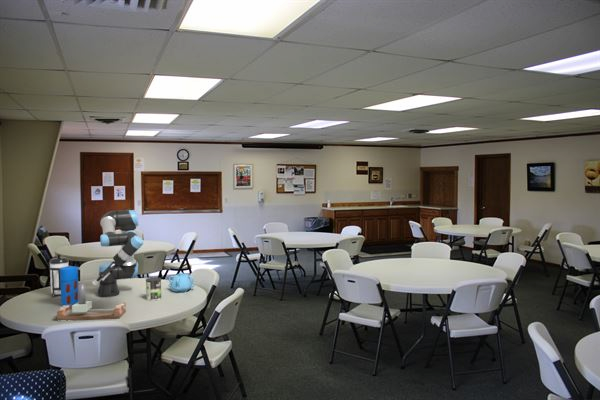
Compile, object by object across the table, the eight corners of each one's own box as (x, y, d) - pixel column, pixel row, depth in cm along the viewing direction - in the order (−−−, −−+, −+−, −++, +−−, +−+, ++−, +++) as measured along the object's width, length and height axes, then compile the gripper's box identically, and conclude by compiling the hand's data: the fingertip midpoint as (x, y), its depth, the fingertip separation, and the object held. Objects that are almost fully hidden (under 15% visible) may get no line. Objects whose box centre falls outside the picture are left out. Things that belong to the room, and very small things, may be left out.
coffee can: (164, 297, 326) (163, 277, 325) (156, 301, 316) (156, 280, 315) (151, 296, 328) (150, 277, 327) (143, 300, 318) (142, 280, 317)
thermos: (82, 302, 313) (81, 266, 312) (70, 307, 303) (68, 269, 301) (70, 301, 316) (68, 266, 315) (57, 305, 306) (56, 269, 305)
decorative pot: (196, 291, 342) (195, 273, 342) (175, 294, 333) (175, 276, 332) (187, 287, 355) (187, 269, 355) (167, 290, 346) (166, 272, 345)
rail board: (65, 314, 287) (64, 303, 287) (127, 311, 291) (127, 301, 291) (55, 321, 273) (55, 310, 273) (121, 318, 277) (120, 307, 277)
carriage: (78, 307, 286) (77, 282, 285) (92, 307, 287) (91, 282, 286) (72, 312, 276) (71, 286, 275) (86, 312, 277) (85, 286, 276)
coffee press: (42, 296, 331) (41, 255, 329) (61, 291, 345) (60, 252, 344) (60, 298, 324) (58, 257, 323) (78, 293, 339) (77, 253, 337)
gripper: (120, 265, 270) (95, 290, 269) (132, 257, 295) (109, 281, 294) (111, 256, 269) (85, 282, 268) (123, 249, 294) (100, 273, 293)
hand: (97, 281), depth 281 cm, fingers open, 13 cm apart
